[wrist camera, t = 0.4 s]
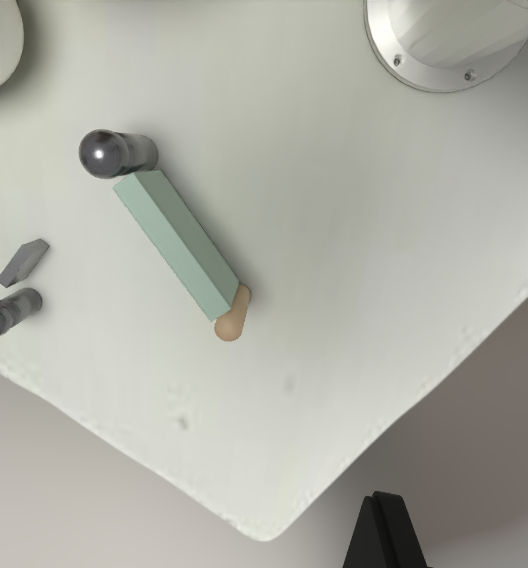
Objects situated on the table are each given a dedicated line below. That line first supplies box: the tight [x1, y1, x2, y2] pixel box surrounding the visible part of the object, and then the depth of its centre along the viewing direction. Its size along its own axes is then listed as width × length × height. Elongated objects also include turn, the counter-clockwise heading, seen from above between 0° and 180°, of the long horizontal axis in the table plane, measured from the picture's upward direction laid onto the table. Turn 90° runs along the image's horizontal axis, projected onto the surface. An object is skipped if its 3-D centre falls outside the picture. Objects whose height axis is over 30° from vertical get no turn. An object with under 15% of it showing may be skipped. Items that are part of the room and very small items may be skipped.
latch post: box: [0, 239, 49, 336], centre depth 39 cm, size 7×4×7 cm, turn 139°
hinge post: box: [79, 129, 158, 179], centre depth 34 cm, size 3×3×10 cm
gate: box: [112, 170, 250, 341], centre depth 36 cm, size 14×2×8 cm, turn 34°
